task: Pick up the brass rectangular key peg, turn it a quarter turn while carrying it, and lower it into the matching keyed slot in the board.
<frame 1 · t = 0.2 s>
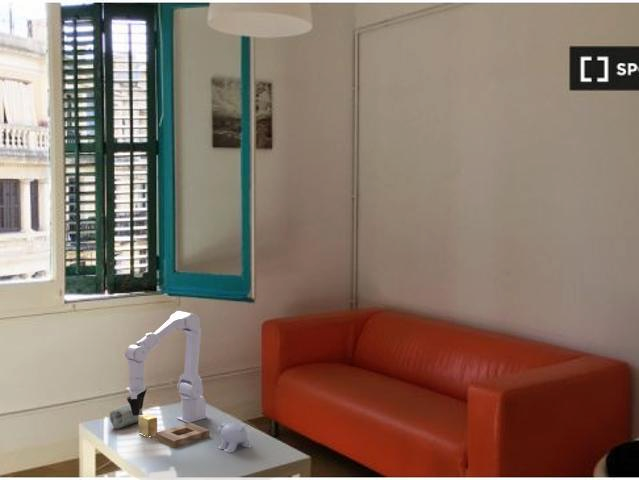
hand: (137, 411, 288), 9 cm above the table, fingers open, 7 cm apart
key peg: (148, 434, 290), on the table
slot board: (182, 437, 287), on the table
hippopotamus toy: (232, 446, 279), on the table
grey cylinder: (126, 425, 301), on the table
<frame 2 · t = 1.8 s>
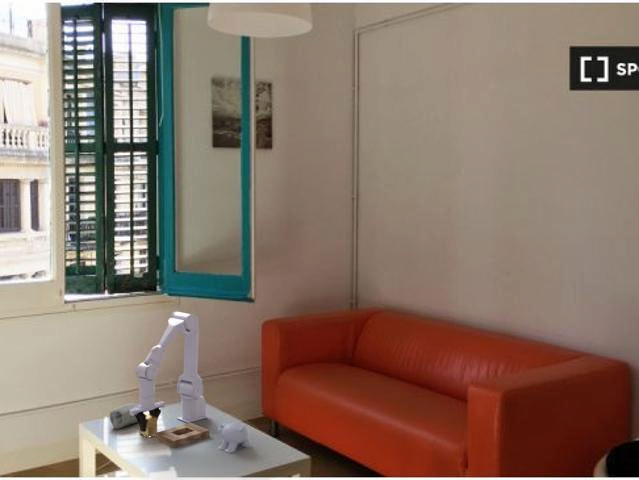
hand: (147, 429, 290), 2 cm above the table, fingers closed on key peg, 4 cm apart
key peg: (148, 434, 290), on the table, touching gripper
everything else where it was.
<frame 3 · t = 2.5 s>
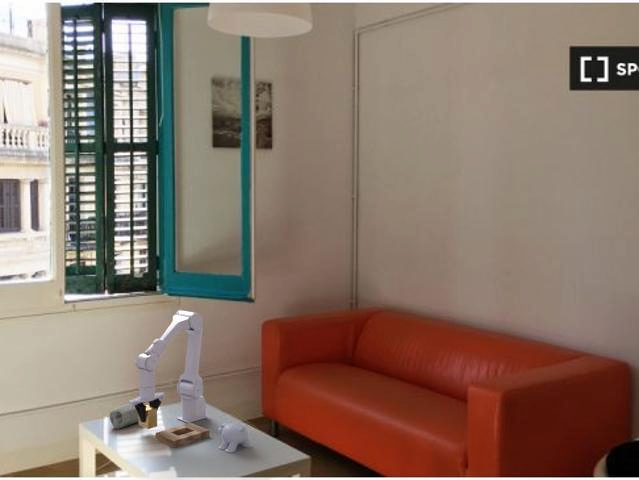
hand: (147, 420, 290), 5 cm above the table, fingers closed on key peg, 4 cm apart
key peg: (148, 425, 290), point 3 cm above the table, touching gripper
everything else where it was.
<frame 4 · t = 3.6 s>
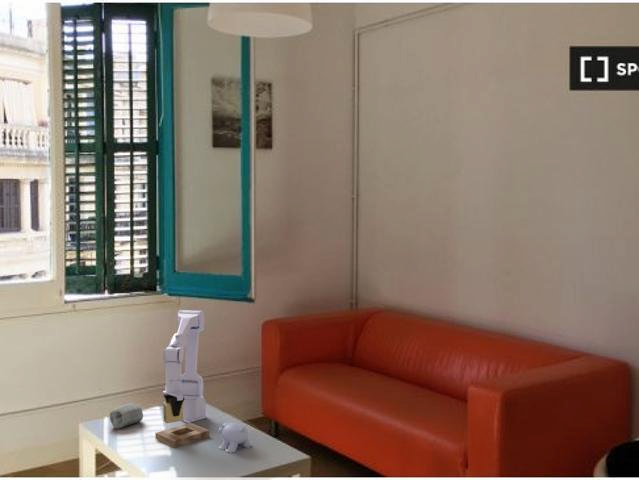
hand: (174, 414, 286), 9 cm above the table, fingers closed on key peg, 4 cm apart
key peg: (173, 420, 287), point 7 cm above the table, touching gripper
everything else where it was.
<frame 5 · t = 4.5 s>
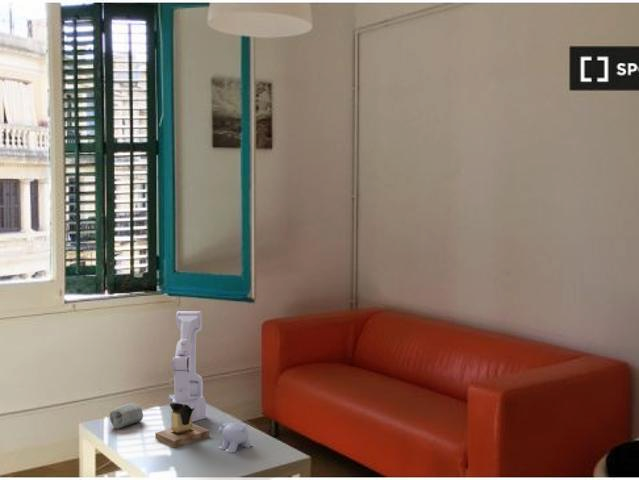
hand: (182, 422, 286), 6 cm above the table, fingers closed on key peg, 4 cm apart
key peg: (181, 429, 286), point 3 cm above the table, touching gripper
everything else where it was.
when the fingers open (3 cm above the table, at t = 5.4 s): key peg stays where it is, resting in slot board.
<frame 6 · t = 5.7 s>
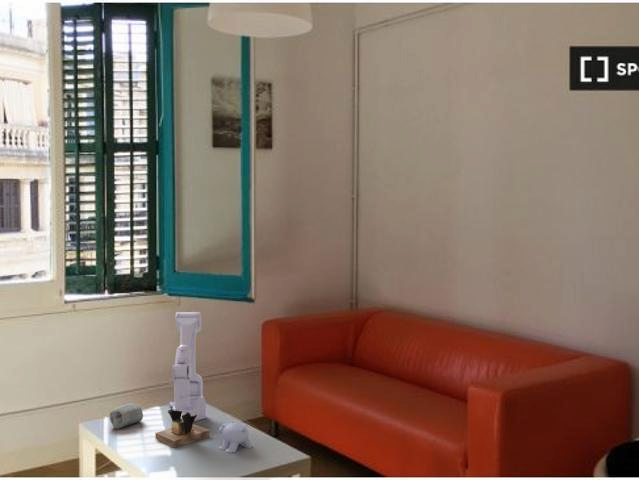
hand: (182, 430, 286), 3 cm above the table, fingers open, 6 cm apart
key peg: (182, 438, 286), resting in slot board
everything else where it was.
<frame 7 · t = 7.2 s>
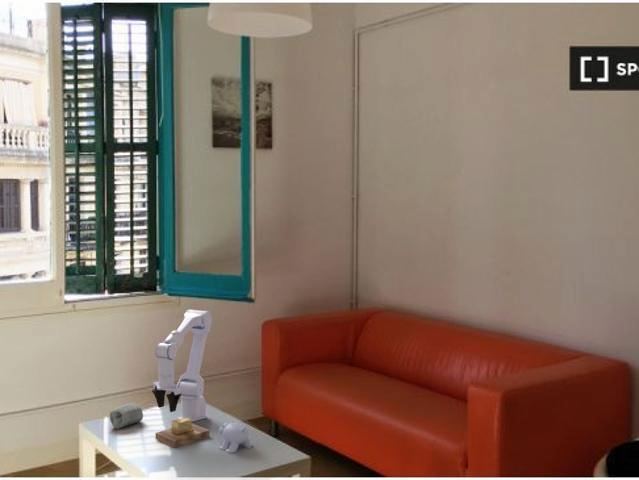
hand: (166, 409, 292), 9 cm above the table, fingers open, 7 cm apart
nothing on the table moved.
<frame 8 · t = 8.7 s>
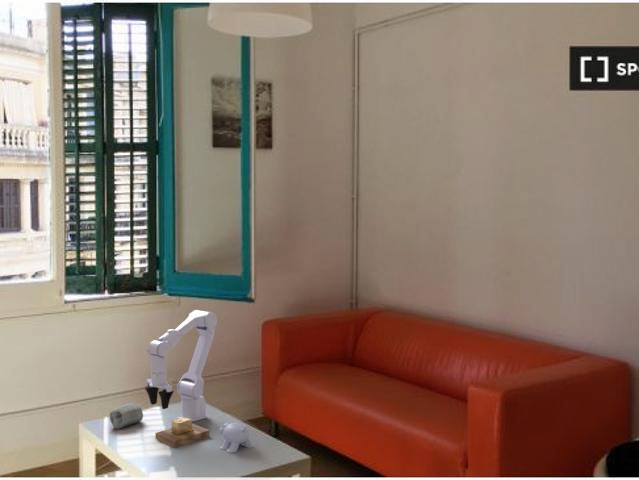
hand: (159, 406, 294), 9 cm above the table, fingers open, 7 cm apart
nothing on the table moved.
at the end: key peg 0.3 cm off-centre on the slot board, point 0.0 cm above the slot board's base; key peg tilted 0°; the gripper is holding nothing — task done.
